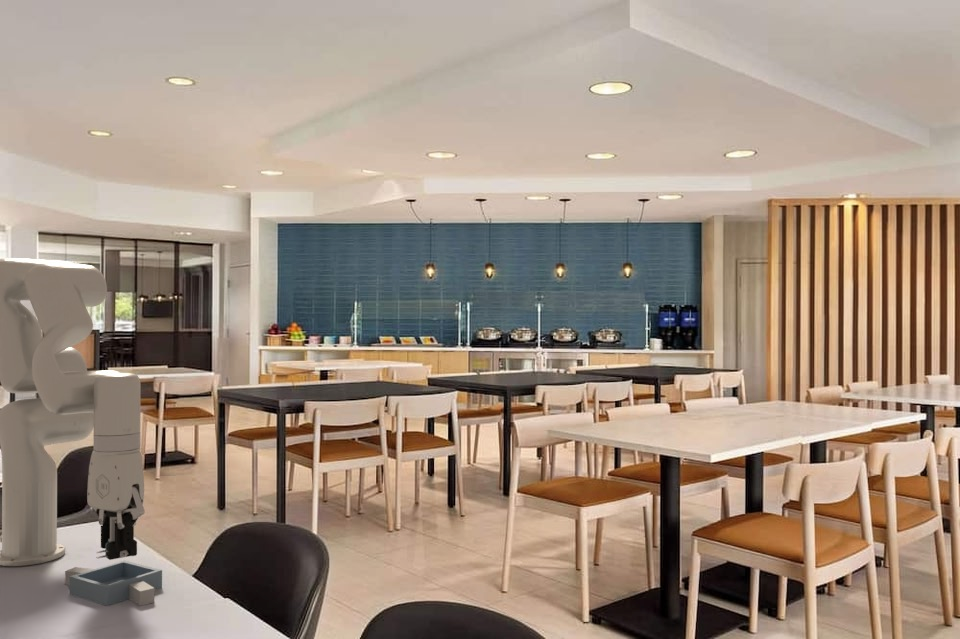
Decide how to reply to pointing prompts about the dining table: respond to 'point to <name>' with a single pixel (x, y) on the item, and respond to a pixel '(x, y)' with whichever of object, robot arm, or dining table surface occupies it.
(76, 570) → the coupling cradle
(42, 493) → the robot arm
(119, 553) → the push button
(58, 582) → the dining table surface
